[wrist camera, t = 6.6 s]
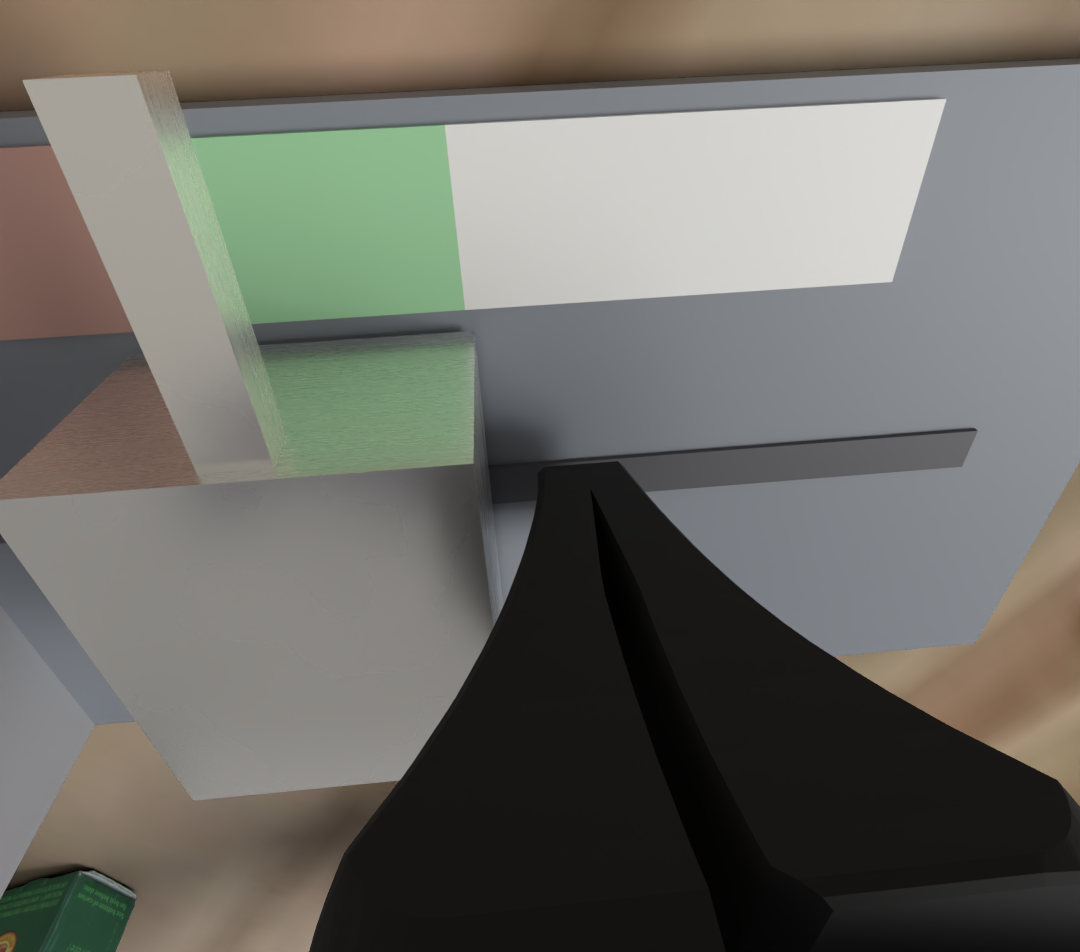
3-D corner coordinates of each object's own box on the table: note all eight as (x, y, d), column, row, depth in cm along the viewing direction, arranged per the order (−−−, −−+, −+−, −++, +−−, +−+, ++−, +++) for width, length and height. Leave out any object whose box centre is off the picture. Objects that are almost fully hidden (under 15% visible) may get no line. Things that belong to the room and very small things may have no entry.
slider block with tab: (502, 606, 13) (510, 769, 10) (256, 627, 13) (192, 800, 10) (444, 47, 7) (423, 61, 4) (1, 68, 7) (-317, 98, 4)
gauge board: (950, 612, 16) (1109, 808, 12) (-13, 699, 15) (-192, 947, 11) (1240, 50, 9) (1854, 70, 5) (-536, 138, 8) (-1575, 254, 4)
